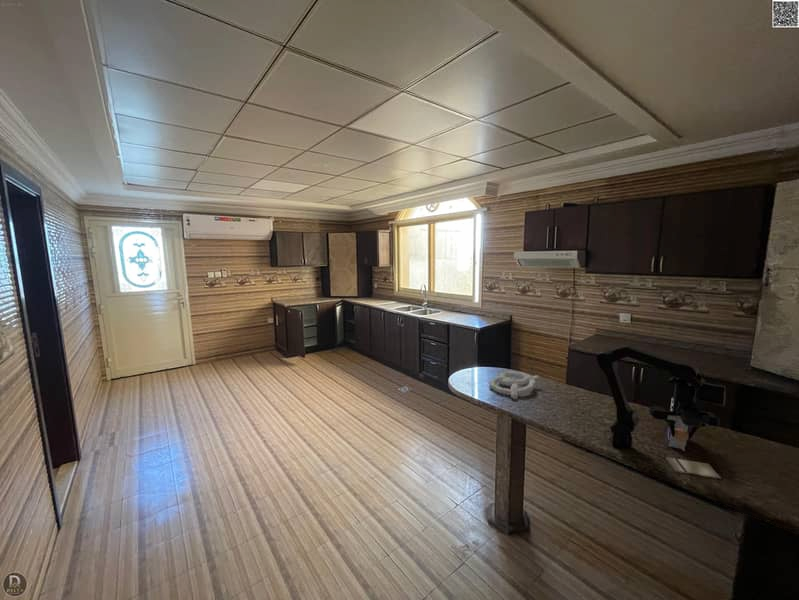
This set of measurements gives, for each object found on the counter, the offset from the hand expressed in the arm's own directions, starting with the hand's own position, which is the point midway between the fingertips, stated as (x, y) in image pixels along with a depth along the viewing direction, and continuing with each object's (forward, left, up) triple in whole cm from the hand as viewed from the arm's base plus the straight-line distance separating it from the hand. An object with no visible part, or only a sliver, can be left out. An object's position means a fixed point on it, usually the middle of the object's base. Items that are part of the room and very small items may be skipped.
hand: (680, 437), depth 119 cm
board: (+5, 0, -12) cm, 13 cm away
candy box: (+7, +19, -12) cm, 24 cm away
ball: (0, 0, -1) cm, 1 cm away
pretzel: (-57, +54, -12) cm, 80 cm away
